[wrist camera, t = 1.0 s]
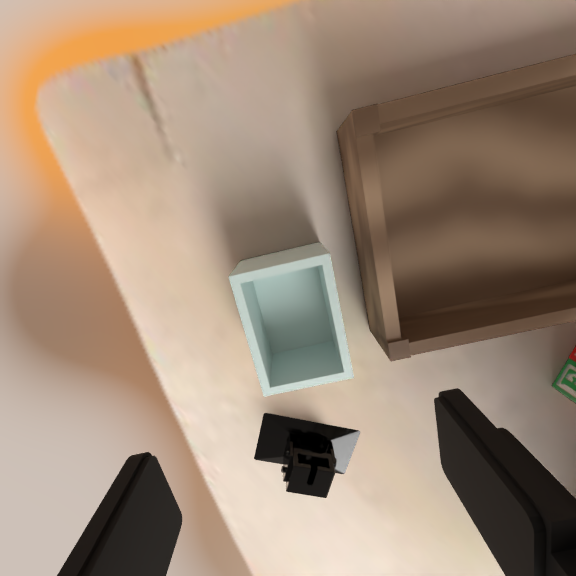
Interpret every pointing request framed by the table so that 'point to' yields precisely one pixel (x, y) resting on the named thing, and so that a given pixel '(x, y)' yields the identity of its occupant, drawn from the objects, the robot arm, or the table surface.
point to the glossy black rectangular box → (305, 452)
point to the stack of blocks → (567, 378)
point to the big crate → (466, 208)
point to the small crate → (292, 318)
